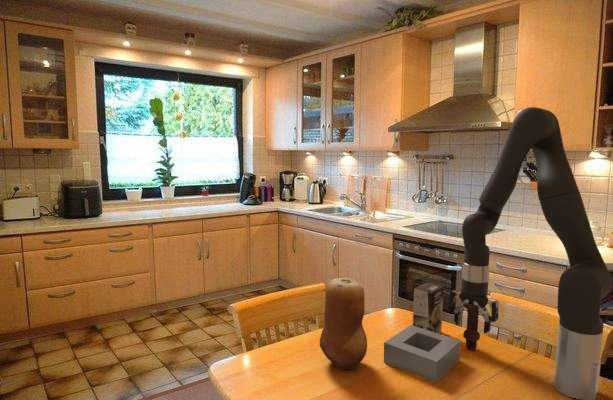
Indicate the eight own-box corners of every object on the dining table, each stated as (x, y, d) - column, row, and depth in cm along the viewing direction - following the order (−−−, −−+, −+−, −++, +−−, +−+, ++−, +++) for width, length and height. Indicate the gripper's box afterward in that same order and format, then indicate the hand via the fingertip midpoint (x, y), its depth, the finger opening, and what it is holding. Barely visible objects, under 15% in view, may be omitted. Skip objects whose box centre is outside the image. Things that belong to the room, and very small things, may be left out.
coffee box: (429, 340, 133) (431, 292, 131) (411, 334, 138) (413, 288, 135) (442, 331, 140) (444, 285, 138) (424, 326, 144) (426, 281, 142)
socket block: (459, 360, 121) (460, 340, 121) (435, 383, 110) (436, 361, 109) (409, 342, 132) (410, 324, 131) (383, 361, 120) (384, 342, 119)
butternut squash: (375, 363, 119) (378, 279, 116) (350, 383, 109) (352, 292, 106) (336, 347, 128) (337, 270, 125) (309, 365, 118) (310, 281, 115)
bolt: (478, 345, 130) (480, 300, 128) (483, 353, 125) (486, 306, 123) (459, 344, 131) (461, 299, 129) (463, 352, 126) (466, 305, 124)
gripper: (504, 280, 123) (499, 331, 125) (457, 269, 132) (453, 317, 135) (495, 286, 118) (491, 340, 120) (447, 275, 127) (444, 325, 129)
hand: (471, 328), depth 127 cm, fingers open, 8 cm apart
